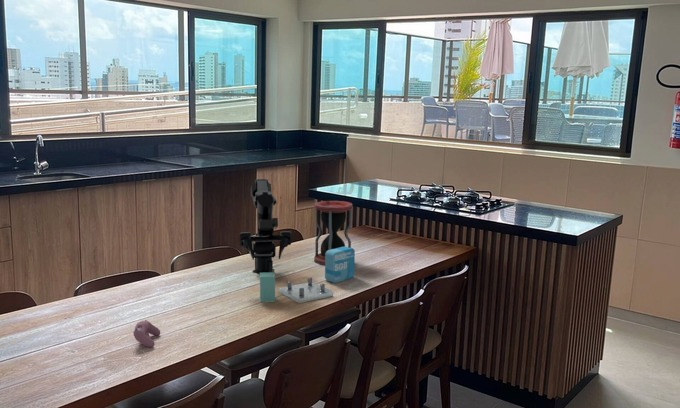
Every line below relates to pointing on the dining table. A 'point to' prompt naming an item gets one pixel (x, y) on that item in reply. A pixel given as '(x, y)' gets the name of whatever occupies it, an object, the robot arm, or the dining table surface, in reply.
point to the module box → (267, 287)
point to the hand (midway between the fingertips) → (266, 258)
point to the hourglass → (331, 226)
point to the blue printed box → (339, 264)
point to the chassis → (305, 291)
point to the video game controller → (145, 333)
